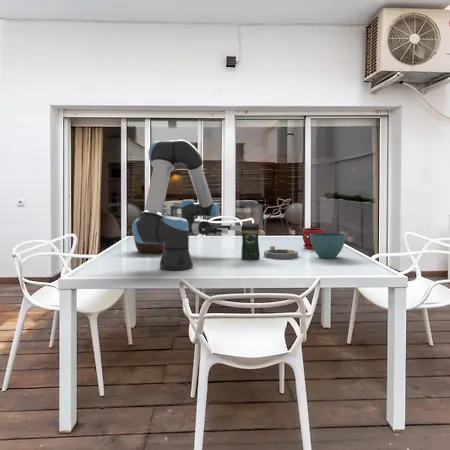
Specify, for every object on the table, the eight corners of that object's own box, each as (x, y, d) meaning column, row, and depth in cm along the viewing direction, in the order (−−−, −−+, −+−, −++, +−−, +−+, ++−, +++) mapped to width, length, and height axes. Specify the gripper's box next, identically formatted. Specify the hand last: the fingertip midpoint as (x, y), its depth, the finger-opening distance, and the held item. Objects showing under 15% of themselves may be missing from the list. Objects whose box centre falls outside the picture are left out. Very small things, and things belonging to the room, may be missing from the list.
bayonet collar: (295, 259, 204) (295, 250, 204) (261, 258, 210) (261, 249, 209) (299, 254, 221) (299, 246, 221) (268, 253, 226) (268, 245, 226)
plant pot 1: (297, 247, 247) (298, 228, 246) (314, 246, 253) (314, 227, 252) (311, 250, 236) (312, 230, 235) (328, 248, 242) (329, 229, 241)
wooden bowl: (130, 250, 243) (129, 233, 242) (170, 247, 253) (169, 231, 252) (139, 256, 220) (139, 237, 219) (183, 252, 230) (182, 235, 230)
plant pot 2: (305, 258, 207) (305, 235, 206) (314, 253, 223) (315, 231, 222) (341, 261, 199) (341, 236, 198) (348, 255, 215) (348, 233, 214)
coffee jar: (259, 257, 212) (259, 222, 210) (259, 259, 204) (259, 223, 202) (241, 257, 212) (241, 222, 211) (240, 259, 204) (240, 223, 203)
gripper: (214, 232, 235) (245, 234, 224) (188, 237, 214) (221, 239, 203) (214, 219, 234) (245, 220, 223) (188, 223, 213) (221, 224, 202)
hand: (234, 229), depth 213 cm, fingers open, 13 cm apart
